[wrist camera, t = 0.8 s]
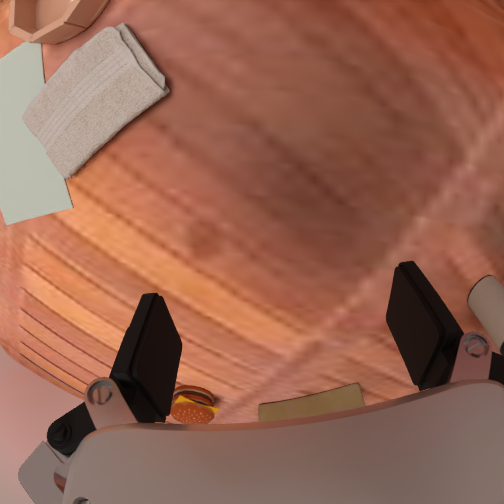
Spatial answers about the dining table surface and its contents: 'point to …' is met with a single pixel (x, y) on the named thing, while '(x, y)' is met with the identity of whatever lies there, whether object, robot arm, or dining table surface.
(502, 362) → the robot arm
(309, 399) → the olive green box
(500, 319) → the travel mug
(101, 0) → the bowl
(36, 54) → the mat
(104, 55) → the washcloth
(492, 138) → the dining table surface
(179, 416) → the hamburger
